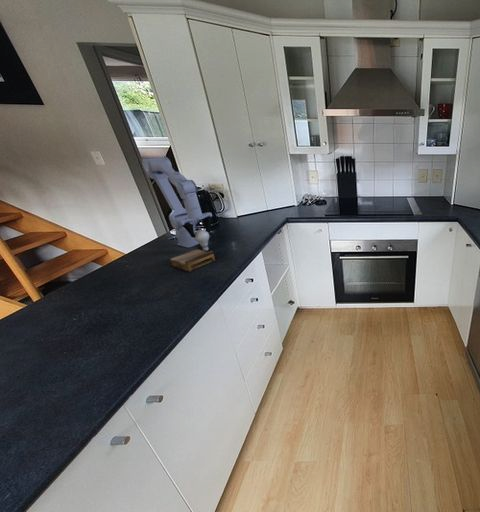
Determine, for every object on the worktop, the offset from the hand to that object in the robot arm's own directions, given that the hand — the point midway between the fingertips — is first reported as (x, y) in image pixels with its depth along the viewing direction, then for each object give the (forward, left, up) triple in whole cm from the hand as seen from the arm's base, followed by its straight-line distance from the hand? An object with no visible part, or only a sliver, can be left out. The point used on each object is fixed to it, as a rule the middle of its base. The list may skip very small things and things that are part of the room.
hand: (201, 234), depth 133 cm
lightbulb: (0, 0, -9) cm, 9 cm away
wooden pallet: (+8, -11, -9) cm, 16 cm away
